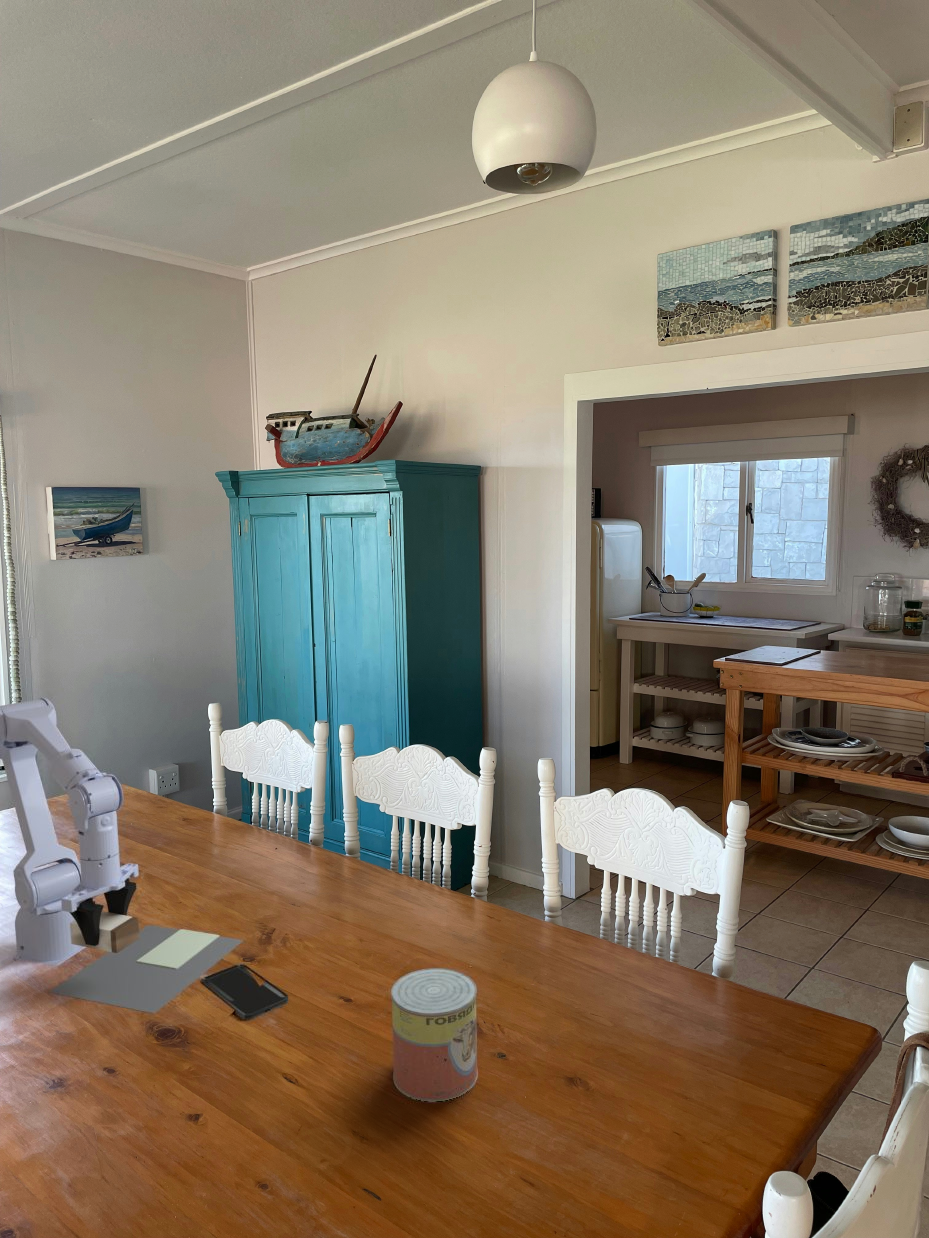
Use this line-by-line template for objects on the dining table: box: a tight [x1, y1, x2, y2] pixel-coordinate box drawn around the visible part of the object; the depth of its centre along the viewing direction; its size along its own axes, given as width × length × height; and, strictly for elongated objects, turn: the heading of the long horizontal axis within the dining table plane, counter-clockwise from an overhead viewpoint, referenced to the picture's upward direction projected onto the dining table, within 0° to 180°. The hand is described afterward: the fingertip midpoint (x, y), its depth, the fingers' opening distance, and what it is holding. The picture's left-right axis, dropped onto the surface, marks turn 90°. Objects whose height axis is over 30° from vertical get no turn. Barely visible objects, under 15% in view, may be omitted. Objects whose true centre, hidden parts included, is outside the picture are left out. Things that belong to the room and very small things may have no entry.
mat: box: [48, 924, 244, 1014], centre depth 147 cm, size 20×24×1 cm
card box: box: [70, 910, 140, 953], centre depth 141 cm, size 9×5×4 cm, turn 69°
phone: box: [200, 963, 289, 1021], centre depth 139 cm, size 8×1×15 cm
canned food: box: [390, 967, 479, 1103], centre depth 118 cm, size 11×11×12 cm
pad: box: [136, 928, 220, 969], centre depth 153 cm, size 12×8×1 cm, turn 161°
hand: (104, 936), depth 141 cm, fingers closed on card box, 5 cm apart
